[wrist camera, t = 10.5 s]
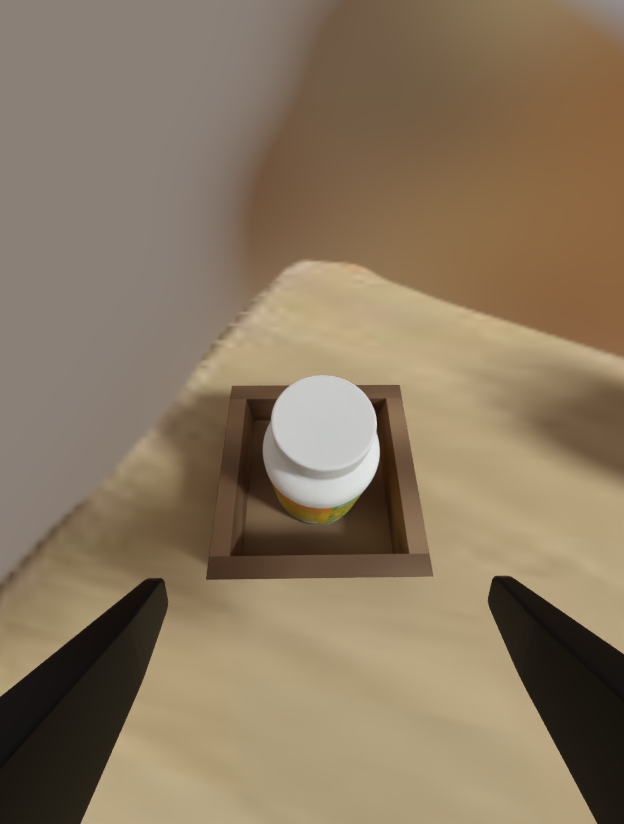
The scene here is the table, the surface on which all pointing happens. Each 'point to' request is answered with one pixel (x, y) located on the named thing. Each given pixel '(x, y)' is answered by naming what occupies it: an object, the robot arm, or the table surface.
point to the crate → (315, 544)
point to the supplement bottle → (321, 448)
